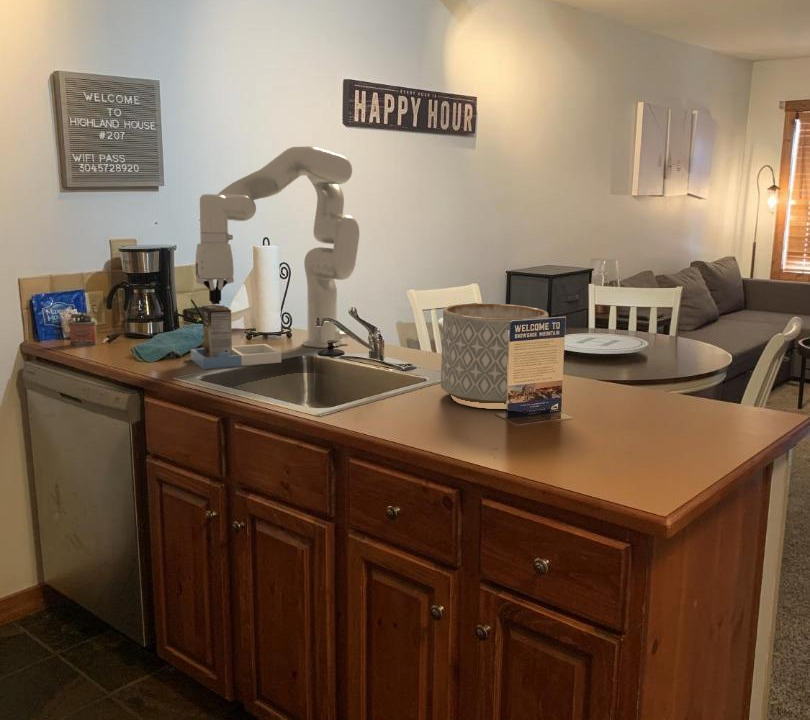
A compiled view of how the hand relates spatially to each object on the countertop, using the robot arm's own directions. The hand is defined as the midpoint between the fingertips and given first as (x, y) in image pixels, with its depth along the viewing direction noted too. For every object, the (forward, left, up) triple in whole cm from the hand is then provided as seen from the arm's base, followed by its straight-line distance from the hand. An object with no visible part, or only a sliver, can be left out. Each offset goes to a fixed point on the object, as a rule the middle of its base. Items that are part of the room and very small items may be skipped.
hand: (215, 303), depth 228 cm
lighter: (+31, -41, -18) cm, 54 cm away
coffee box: (0, 0, -18) cm, 18 cm away
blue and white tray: (-6, 0, -17) cm, 18 cm away
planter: (-51, +66, -18) cm, 85 cm away
